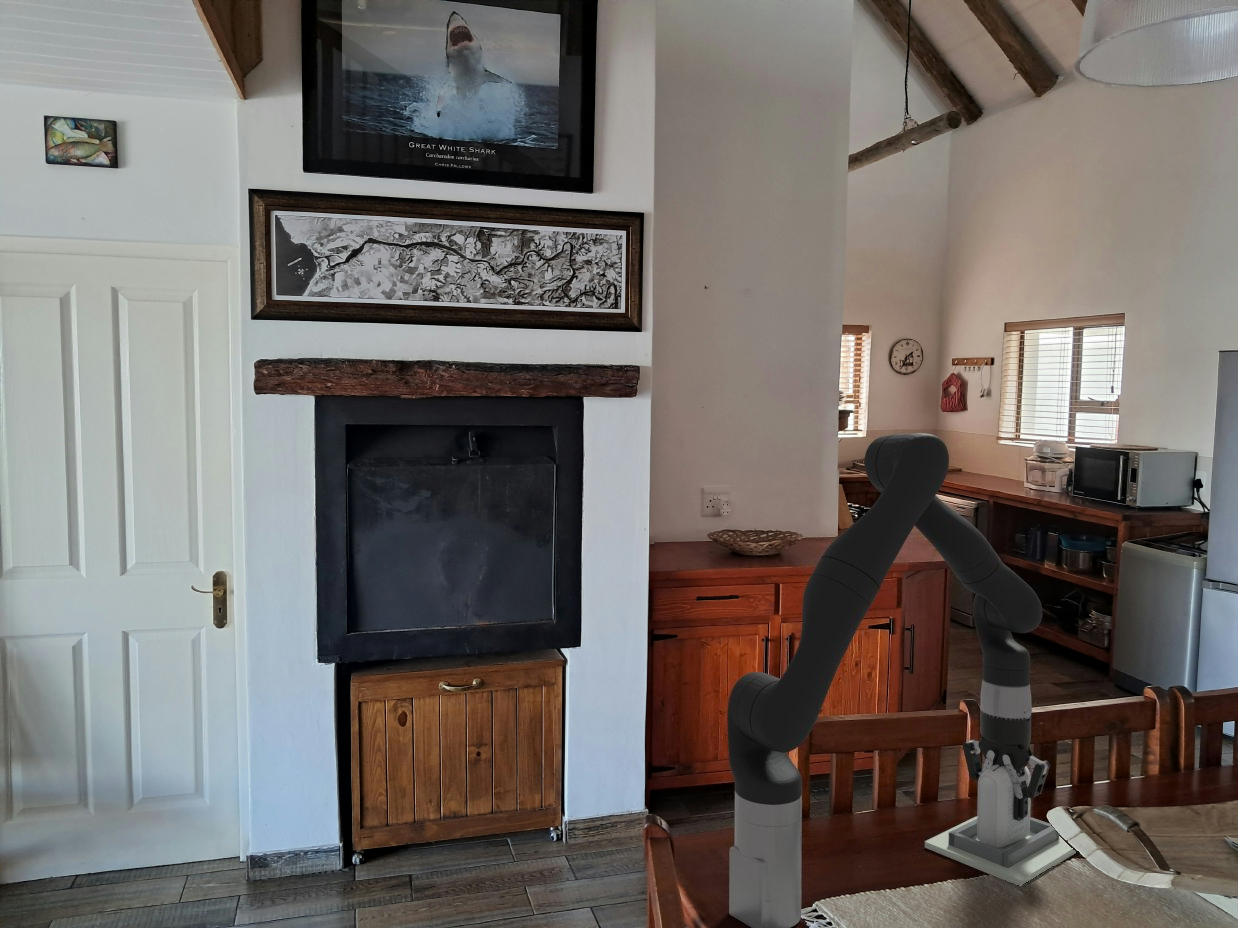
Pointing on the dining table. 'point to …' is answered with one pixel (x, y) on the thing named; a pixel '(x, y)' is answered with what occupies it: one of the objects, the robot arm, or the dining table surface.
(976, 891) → the dining table surface
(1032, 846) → the dock
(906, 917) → the dining table surface
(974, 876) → the dining table surface
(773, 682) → the robot arm
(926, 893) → the dining table surface
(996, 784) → the grey rounded block
